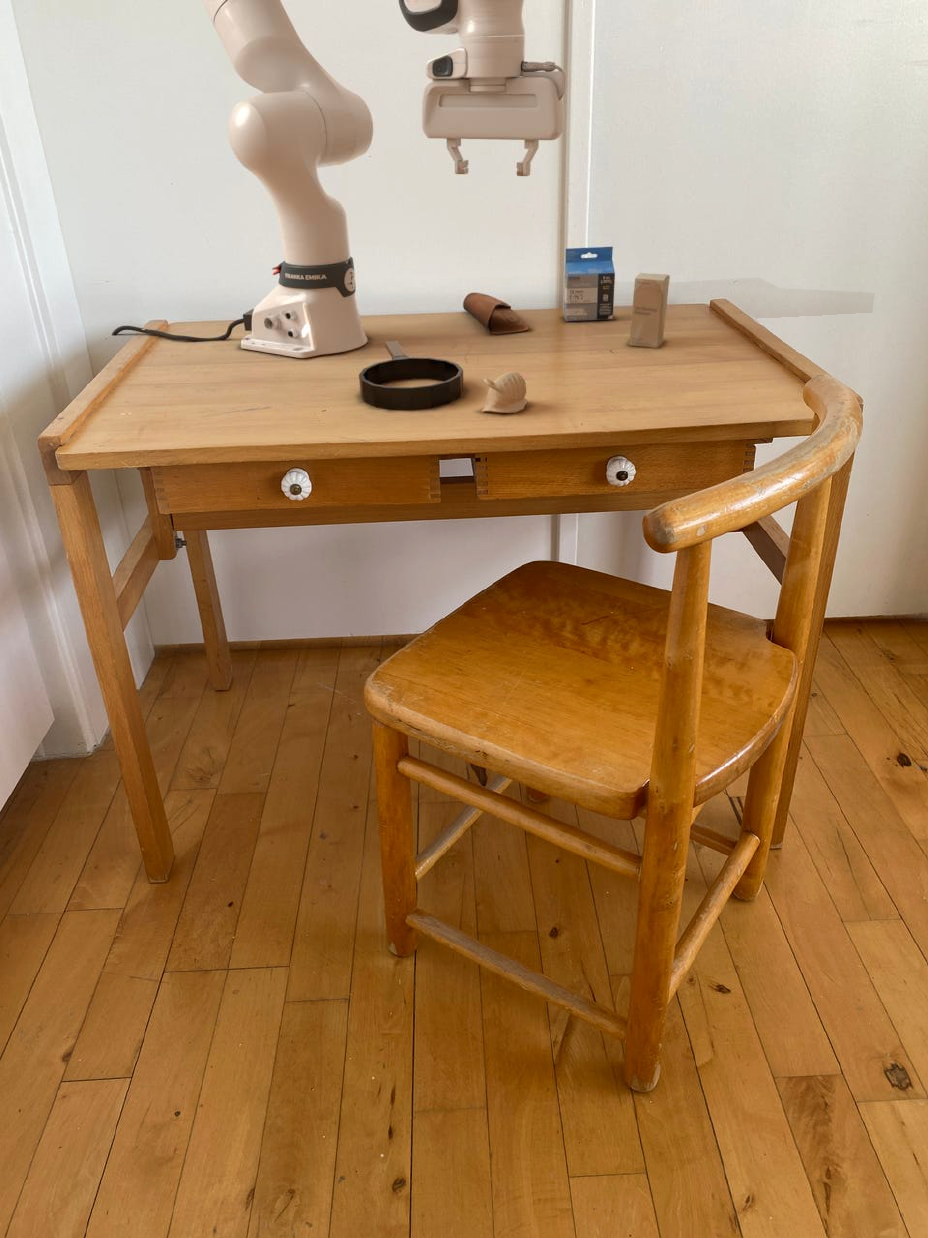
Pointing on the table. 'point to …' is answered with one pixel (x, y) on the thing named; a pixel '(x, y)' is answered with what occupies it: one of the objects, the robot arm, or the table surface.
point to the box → (649, 310)
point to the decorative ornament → (506, 393)
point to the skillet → (410, 369)
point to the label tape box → (589, 284)
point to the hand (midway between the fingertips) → (492, 174)
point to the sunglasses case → (494, 314)
